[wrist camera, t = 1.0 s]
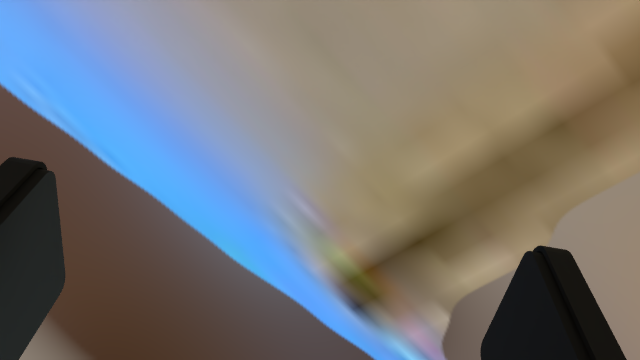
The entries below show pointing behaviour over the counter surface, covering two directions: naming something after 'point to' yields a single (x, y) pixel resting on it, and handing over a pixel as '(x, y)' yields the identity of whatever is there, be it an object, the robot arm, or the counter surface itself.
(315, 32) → the counter surface
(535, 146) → the counter surface
